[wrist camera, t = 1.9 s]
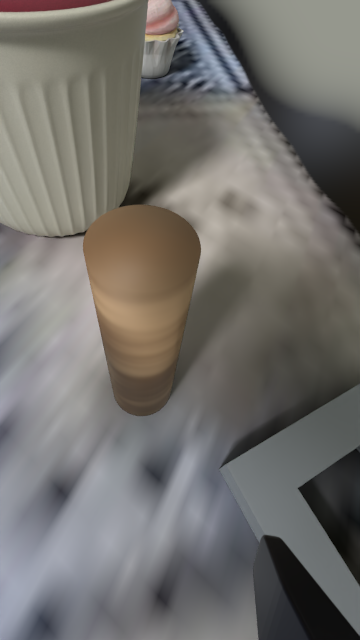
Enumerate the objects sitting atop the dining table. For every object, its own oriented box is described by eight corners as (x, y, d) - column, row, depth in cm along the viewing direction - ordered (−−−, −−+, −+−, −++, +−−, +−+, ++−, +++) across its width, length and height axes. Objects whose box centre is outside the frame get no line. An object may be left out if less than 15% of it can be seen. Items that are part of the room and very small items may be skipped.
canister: (42, 307, 26) (-177, -178, 8) (-85, 194, 31) (-397, -262, 13) (189, 200, 34) (242, -158, 16) (70, 124, 39) (10, -214, 21)
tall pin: (181, 399, 23) (222, 267, 11) (127, 426, 22) (110, 308, 10) (155, 352, 25) (168, 194, 13) (104, 375, 24) (66, 221, 12)
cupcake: (191, 79, 48) (202, -18, 39) (133, 89, 45) (131, -13, 36) (160, 50, 52) (164, -43, 43) (103, 58, 49) (96, -41, 40)
